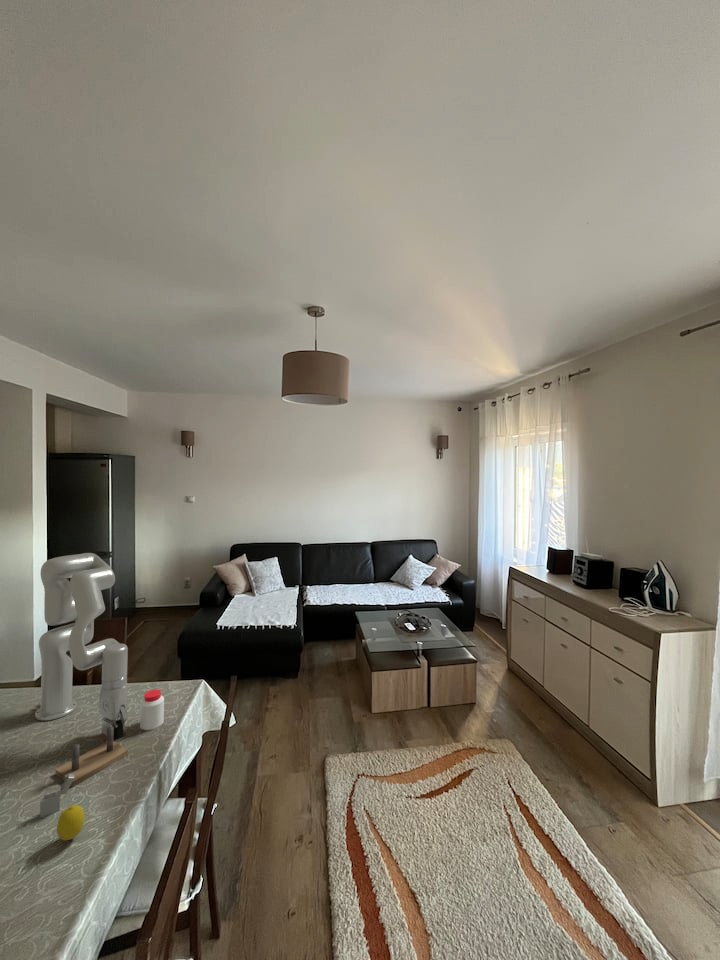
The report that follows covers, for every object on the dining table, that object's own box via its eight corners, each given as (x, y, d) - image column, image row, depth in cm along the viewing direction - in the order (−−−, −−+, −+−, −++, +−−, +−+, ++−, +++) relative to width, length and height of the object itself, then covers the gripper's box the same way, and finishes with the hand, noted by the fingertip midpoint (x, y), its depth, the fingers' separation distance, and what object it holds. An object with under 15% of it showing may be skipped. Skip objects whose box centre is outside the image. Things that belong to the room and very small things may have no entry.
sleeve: (101, 737, 137) (102, 719, 137) (116, 729, 141) (116, 712, 141) (109, 741, 134) (110, 724, 134) (124, 733, 139) (124, 716, 139)
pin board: (55, 774, 119) (56, 745, 119) (110, 744, 133) (111, 718, 133) (72, 787, 114) (73, 757, 114) (127, 754, 128) (128, 728, 128)
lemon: (66, 829, 100) (66, 798, 100) (89, 828, 101) (89, 797, 101) (50, 850, 95) (51, 816, 95) (75, 848, 95) (76, 815, 95)
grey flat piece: (40, 818, 104) (41, 787, 104) (40, 814, 105) (40, 783, 105) (73, 804, 108) (74, 775, 108) (73, 800, 109) (73, 771, 110)
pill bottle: (153, 731, 140) (154, 700, 140) (134, 728, 142) (135, 697, 142) (168, 719, 148) (169, 689, 148) (150, 716, 149) (151, 686, 149)
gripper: (89, 679, 139) (88, 732, 139) (117, 693, 130) (116, 748, 130) (111, 671, 145) (110, 721, 145) (139, 683, 137) (138, 736, 137)
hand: (113, 733), depth 138 cm, fingers closed on sleeve, 5 cm apart
